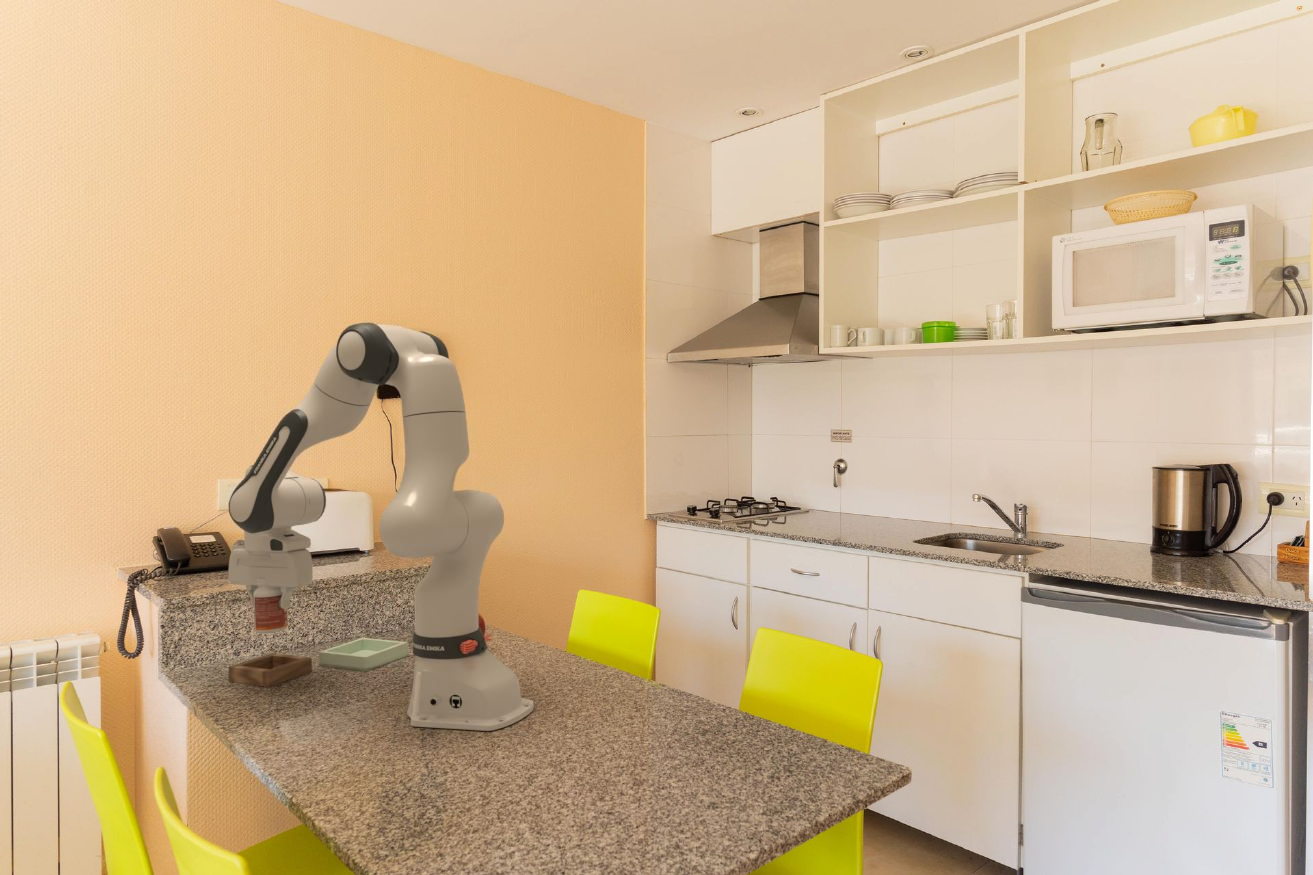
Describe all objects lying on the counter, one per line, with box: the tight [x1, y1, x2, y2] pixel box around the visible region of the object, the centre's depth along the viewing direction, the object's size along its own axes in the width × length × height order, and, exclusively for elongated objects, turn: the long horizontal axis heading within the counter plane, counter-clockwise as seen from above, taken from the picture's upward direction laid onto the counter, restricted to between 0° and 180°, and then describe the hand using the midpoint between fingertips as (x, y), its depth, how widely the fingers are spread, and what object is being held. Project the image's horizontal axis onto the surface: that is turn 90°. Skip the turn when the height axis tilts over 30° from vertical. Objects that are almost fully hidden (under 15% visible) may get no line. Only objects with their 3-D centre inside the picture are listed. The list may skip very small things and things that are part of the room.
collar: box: [228, 652, 313, 688], centre depth 167 cm, size 11×11×3 cm
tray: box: [318, 637, 409, 672], centre depth 178 cm, size 13×13×3 cm
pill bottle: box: [253, 578, 288, 634], centre depth 167 cm, size 6×6×11 cm
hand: (270, 607), depth 167 cm, fingers closed on pill bottle, 6 cm apart
